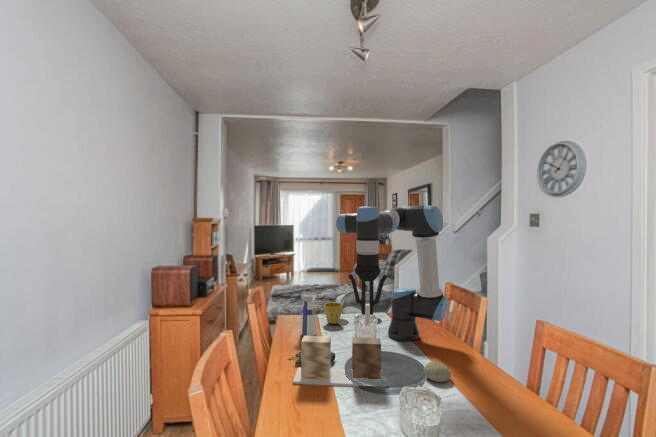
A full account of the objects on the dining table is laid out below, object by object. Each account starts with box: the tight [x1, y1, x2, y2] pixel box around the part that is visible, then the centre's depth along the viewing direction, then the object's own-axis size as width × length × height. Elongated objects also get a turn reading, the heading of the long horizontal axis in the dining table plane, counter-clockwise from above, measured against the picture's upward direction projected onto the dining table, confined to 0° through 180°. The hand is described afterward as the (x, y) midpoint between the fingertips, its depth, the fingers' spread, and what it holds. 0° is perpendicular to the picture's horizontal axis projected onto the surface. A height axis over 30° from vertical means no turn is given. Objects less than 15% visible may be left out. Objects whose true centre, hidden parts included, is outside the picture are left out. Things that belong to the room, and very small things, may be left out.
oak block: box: [300, 335, 332, 379], centre depth 120 cm, size 10×6×13 cm, turn 85°
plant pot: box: [323, 301, 344, 325], centre depth 185 cm, size 10×10×10 cm
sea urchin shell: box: [423, 360, 452, 383], centre depth 119 cm, size 9×8×8 cm
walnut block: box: [351, 336, 382, 379], centre depth 119 cm, size 10×6×13 cm, turn 85°
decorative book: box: [286, 351, 336, 366], centre depth 133 cm, size 13×18×5 cm
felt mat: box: [292, 366, 359, 387], centre depth 119 cm, size 33×11×1 cm, turn 85°
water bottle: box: [300, 284, 318, 337], centre depth 166 cm, size 8×8×25 cm
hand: (367, 324), depth 110 cm, fingers closed
